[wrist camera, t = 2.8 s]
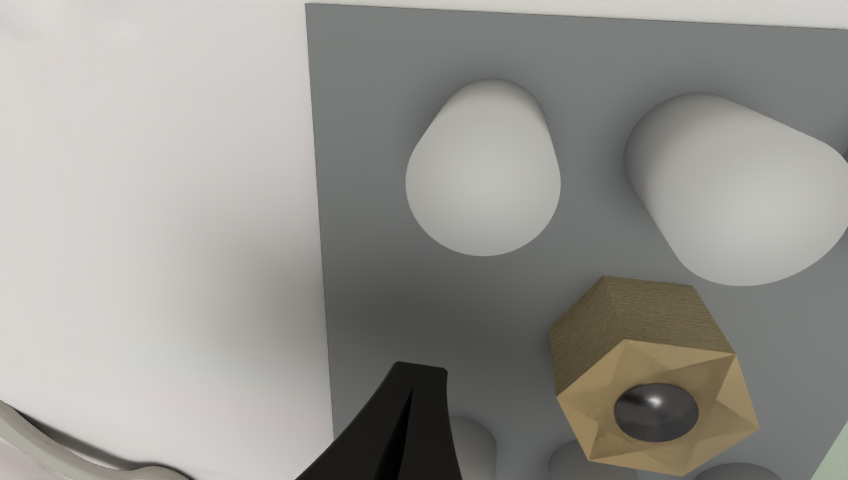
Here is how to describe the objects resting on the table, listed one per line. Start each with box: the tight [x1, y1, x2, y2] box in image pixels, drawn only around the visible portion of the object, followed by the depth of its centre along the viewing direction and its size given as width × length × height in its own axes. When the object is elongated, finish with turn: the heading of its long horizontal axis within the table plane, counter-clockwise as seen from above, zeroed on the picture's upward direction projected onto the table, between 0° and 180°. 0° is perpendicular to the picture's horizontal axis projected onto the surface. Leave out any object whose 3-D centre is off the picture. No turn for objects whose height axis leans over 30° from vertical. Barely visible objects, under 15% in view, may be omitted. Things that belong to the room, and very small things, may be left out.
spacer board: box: [305, 3, 848, 480], centre depth 13 cm, size 18×26×4 cm
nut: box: [549, 275, 760, 477], centre depth 13 cm, size 4×5×3 cm
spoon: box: [0, 400, 190, 480], centre depth 23 cm, size 3×12×2 cm, turn 68°
